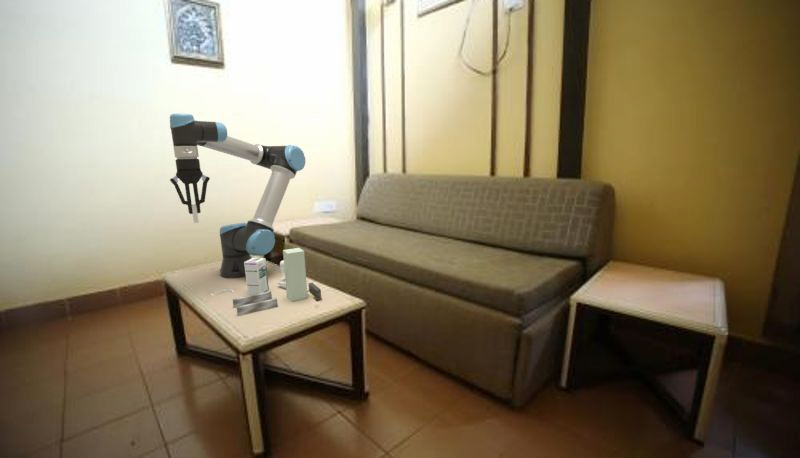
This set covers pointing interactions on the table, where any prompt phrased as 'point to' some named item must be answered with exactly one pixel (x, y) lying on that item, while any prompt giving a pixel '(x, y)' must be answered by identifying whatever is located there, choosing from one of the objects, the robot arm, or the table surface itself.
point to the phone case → (221, 292)
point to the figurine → (282, 282)
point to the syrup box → (256, 276)
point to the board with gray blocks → (266, 301)
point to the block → (295, 274)
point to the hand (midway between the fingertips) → (196, 222)
